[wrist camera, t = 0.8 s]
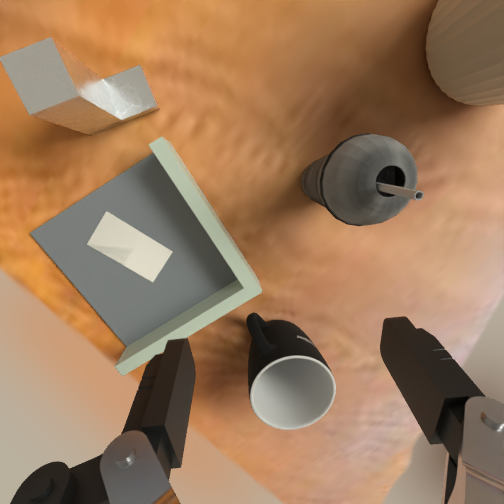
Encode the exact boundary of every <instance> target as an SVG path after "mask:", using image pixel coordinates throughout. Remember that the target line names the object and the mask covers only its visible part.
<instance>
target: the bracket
mask: <svg viewBox="0 0 504 504" xmlns="http://www.w3.org/2000/svg"><path fill="white" fill-rule="evenodd" d="M0 60H1V62H2V64H3V66H4V68H5V70H6V72H7V74H8V76H9V77H10V79H11V81H12V83H13V85H14V87H15V89H16V91H17V93H18V94H19V96H20V98H21V100H22V102H23V104H24V106H25V108H26V110H27V111H28V113H29V115H31V116H34V117H37V118H40V119H43V120H46V121H49V122H52V123H55V124H58V125H61V126H64V127H67V128H70V129H73V130H76V131H79V132H82V133H85V134H88V135H93V134H96V133H99V132H101V131H104V130H106V129H109V128H112V127H114V126H117V125H119V124H122V123H125V122H127V121H130V120H132V119H135V118H137V117H140V116H143V115H145V114H148V113H150V112H153V111H156V110H158V109H160V108H159V106H158V103H157V101H156V98H155V96H154V94H153V91H152V89H151V86H150V84H149V81H148V79H147V77H146V74H145V72H144V69H143V68H142V67H141V65H139V66H136V67H134V68H131V69H128V70H126V71H123V72H121V73H118V74H115V75H113V76H110V77H108V78H105V79H102V78H101V77H100V76H98V75H97V74H96V73H95V72H93V71H92V70H91V69H90V68H89V67H87V66H86V65H85V64H84V63H82V62H81V61H80V60H79V59H77V58H76V57H75V56H74V55H73V54H71V53H70V52H69V51H68V50H66V49H65V48H64V47H63V46H62V45H60V44H59V43H58V42H57V41H55V40H54V39H53V38H52V37H50V38H47V39H45V40H42V41H40V42H37V43H35V44H32V45H30V46H27V47H24V48H22V49H19V50H17V51H14V52H12V53H9V54H6V55H4V56H1V57H0Z"/></svg>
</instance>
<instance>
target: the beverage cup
mask: <svg viewBox="0 0 504 504" xmlns="http://www.w3.org/2000/svg"><path fill="white" fill-rule="evenodd" d="M416 185H417V167H416V164H415V161H414V158H413V156H412V155H411V153H410V152H409V151H408V149H407V148H406V147H405V146H404V145H403V144H401V143H399V142H398V141H396V140H395V139H393V138H391V137H387V136H382V135H376V134H369V133H367V134H360V135H354V136H352V137H350V138H348V139H346V140H344V141H342V142H341V143H340V144H339V145H338V146H337V147H336V148H335V149H334V150H333V151H332V152H331V153H330V154H328V155H326V156H324V157H322V158H321V159H319V160H317V161H315V162H313V163H312V164H311V165H309V166H308V167H307V168H306V169H305V171H304V173H303V174H302V178H301V186H302V189H303V191H304V193H305V194H306V195H307V196H308V197H309V198H310V199H311V200H313V201H315V202H317V203H319V204H320V205H322V206H324V207H326V209H327V210H328V211H329V212H330V213H331V214H332V215H333V216H334V217H335V218H336V219H338V220H340V221H342V222H343V223H345V224H349V225H355V226H363V225H372V224H377V223H382V222H384V221H386V220H388V219H390V218H392V217H394V216H396V215H397V214H398V213H399V212H400V211H401V210H402V209H404V208H405V207H406V206H407V204H408V203H409V201H410V199H414V200H421V199H422V198H423V197H424V193H423V192H422V191H419V190H415V188H416Z"/></svg>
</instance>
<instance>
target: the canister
mask: <svg viewBox="0 0 504 504" xmlns="http://www.w3.org/2000/svg"><path fill="white" fill-rule="evenodd" d="M425 49H426V53H427V56H426V60H427V62H428V69H429V70H430V72H431V77H432V78H433V79H434V81H435V83H436V85H437V86H439V87H440V89H441V91H442V92H444V93H446V94H447V96H448V97H450V98H453V99H454V100H455V101H457V102H462V103H464V104H467V105H475V106H487V105H500V104H504V0H438V2H437V5H436V7H435V9H434V11H433V13H432V17H431V21H430V23H429V25H428V33H427V36H426V48H425Z"/></svg>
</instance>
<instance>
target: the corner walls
mask: <svg viewBox="0 0 504 504" xmlns="http://www.w3.org/2000/svg"><path fill="white" fill-rule="evenodd" d="M149 146H150V148H151V149H152V151H153V152H154V154H155V155H156V157H157V158H158V160H159V161H160V163H161V164H162V166H163V167H164V169H165V170H166V172H167V173H168V175H169V176H170V178H171V179H172V181H173V182H174V184H175V185H176V187H177V188H178V190H179V191H180V193H181V194H182V196H183V197H184V199H185V200H186V202H187V203H188V205H189V206H190V208H191V209H192V211H193V212H194V214H195V215H196V217H197V218H198V220H199V221H200V223H201V224H202V226H203V227H204V229H205V230H206V232H207V233H208V235H209V236H210V238H211V239H212V241H213V242H214V244H215V245H216V247H217V248H218V250H219V251H220V253H221V254H222V256H223V257H224V259H225V260H226V262H227V263H228V265H229V266H230V268H231V269H232V271H233V272H234V274H235V275H236V277H237V278H238V279H237V280H236V281H234V282H232V283H231V284H229V285H227V286H226V287H224V288H222V289H221V290H219V291H217V292H216V293H214V294H213V295H211V296H209V297H208V298H206V299H204V300H203V301H201V302H199V303H198V304H196V305H194V306H193V307H191V308H190V309H188V310H186V311H185V312H183V313H181V314H180V315H178V316H176V317H175V318H173V319H171V320H170V321H168V322H167V323H165V324H163V325H162V326H160V327H158V328H157V329H155V330H153V331H152V332H150V333H148V334H147V335H145V336H144V337H142V338H140V339H139V340H137V341H135V342H134V343H132V344H130V345H129V346H127V347H126V348H125V350H124V352H123V353H122V355H121V357H120V358H119V360H118V362H117V363H116V365H115V368H116V369H117V370H118V372H119V373H120V374H121V375H122V376H124V375H125V374H127V373H129V372H130V371H132V370H134V369H135V368H137V367H139V366H140V365H142V364H144V363H145V362H147V361H149V360H150V359H152V358H153V357H154V356H155V355H156V354H160V353H162V352H164V350H165V346H166V343H167V341H168V340H172V339H181V338H187V337H188V336H190V335H192V334H193V333H195V332H197V331H198V330H200V329H202V328H203V327H205V326H207V325H208V324H210V323H212V322H213V321H215V320H217V319H218V318H220V317H222V316H223V315H225V314H227V313H228V312H230V311H232V310H233V309H235V308H237V307H238V306H240V305H242V304H243V303H245V302H247V301H248V300H250V299H252V298H253V297H255V296H257V295H258V294H260V293H261V292H262V289H261V286H260V283H259V280H258V278H257V277H256V274H255V273H254V271H253V270H252V268H251V267H250V265H249V264H248V262H247V260H246V259H245V257H244V256H243V254H242V253H241V251H240V250H239V248H238V247H237V245H236V243H235V242H234V240H233V239H232V237H231V236H230V234H229V233H228V231H227V229H226V228H225V226H224V225H223V223H222V222H221V220H220V219H219V217H218V215H217V214H216V212H215V211H214V209H213V208H212V206H211V205H210V203H209V202H208V200H207V198H206V197H205V195H204V194H203V192H202V191H201V189H200V188H199V186H198V184H197V183H196V181H195V180H194V178H193V177H192V175H191V174H190V172H189V170H188V169H187V167H186V166H185V164H184V163H183V161H182V160H181V158H180V157H179V155H178V153H177V152H176V150H175V149H174V147H173V146H172V144H171V143H170V142H169V141H167V140H166V139H165V138H163V137H160V138H158V139H157V140H155V141H154V142H152V143H151V144H149Z"/></svg>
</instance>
